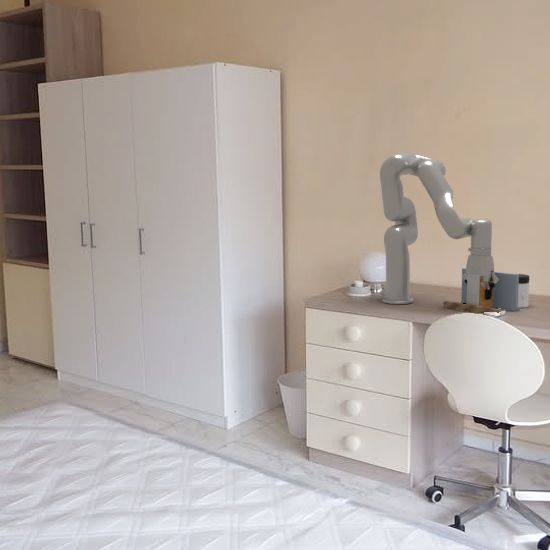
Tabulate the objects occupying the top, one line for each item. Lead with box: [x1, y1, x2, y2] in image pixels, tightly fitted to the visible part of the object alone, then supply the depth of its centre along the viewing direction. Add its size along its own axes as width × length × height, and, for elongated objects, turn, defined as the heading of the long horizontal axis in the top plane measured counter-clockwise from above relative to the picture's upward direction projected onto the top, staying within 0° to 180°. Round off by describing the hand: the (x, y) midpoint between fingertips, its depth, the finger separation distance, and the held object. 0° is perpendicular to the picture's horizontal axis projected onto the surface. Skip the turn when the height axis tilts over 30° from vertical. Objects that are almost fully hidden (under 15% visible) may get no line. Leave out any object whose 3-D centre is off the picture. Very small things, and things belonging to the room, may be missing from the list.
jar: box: [518, 273, 530, 309], centre depth 279 cm, size 9×8×12 cm
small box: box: [467, 274, 493, 308], centre depth 275 cm, size 8×6×13 cm
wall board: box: [460, 267, 521, 312], centre depth 279 cm, size 24×3×14 cm, turn 41°
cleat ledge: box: [443, 300, 502, 314], centre depth 272 cm, size 24×2×2 cm, turn 41°
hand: (479, 297), depth 275 cm, fingers closed on small box, 6 cm apart
